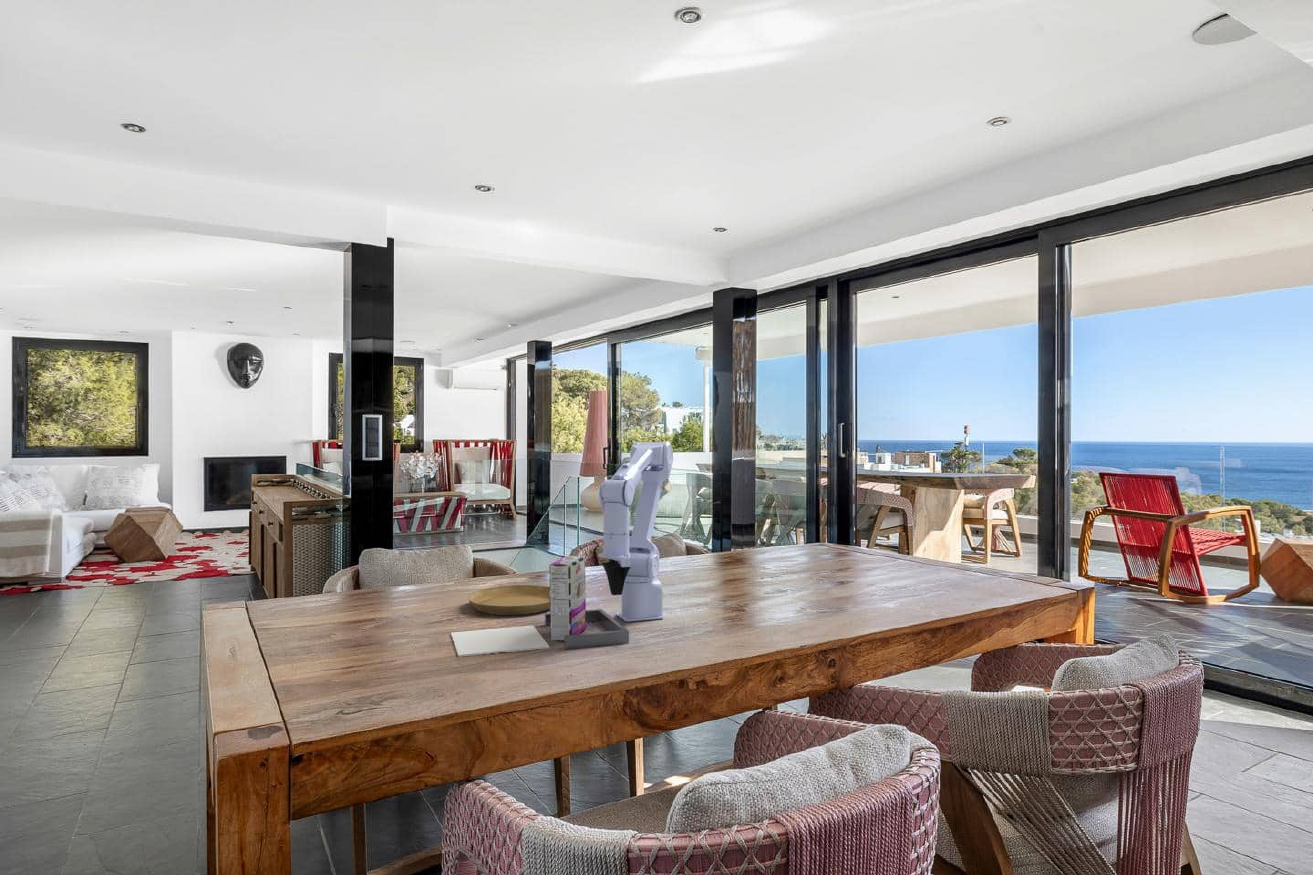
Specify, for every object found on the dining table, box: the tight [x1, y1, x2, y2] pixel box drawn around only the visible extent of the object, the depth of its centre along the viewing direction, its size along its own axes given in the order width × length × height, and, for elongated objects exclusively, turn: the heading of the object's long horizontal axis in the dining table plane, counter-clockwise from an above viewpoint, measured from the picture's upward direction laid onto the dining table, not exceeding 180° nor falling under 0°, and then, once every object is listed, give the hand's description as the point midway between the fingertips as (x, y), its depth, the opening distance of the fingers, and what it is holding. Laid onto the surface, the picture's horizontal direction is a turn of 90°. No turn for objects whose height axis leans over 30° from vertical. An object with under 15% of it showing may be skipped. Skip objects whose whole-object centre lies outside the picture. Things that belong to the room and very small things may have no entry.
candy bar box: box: [548, 555, 587, 642], centre depth 164 cm, size 11×5×16 cm, turn 168°
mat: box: [450, 625, 550, 658], centre depth 159 cm, size 18×18×1 cm
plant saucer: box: [467, 584, 550, 616], centre depth 192 cm, size 24×24×3 cm
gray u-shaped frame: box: [544, 608, 630, 650], centre depth 165 cm, size 14×21×2 cm, turn 20°
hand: (616, 594), depth 167 cm, fingers closed
